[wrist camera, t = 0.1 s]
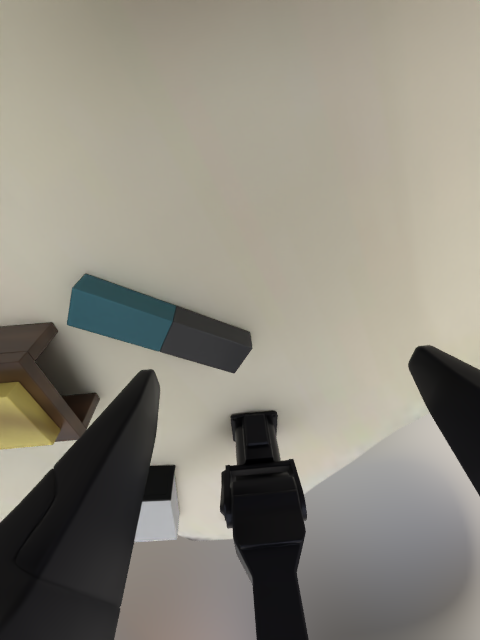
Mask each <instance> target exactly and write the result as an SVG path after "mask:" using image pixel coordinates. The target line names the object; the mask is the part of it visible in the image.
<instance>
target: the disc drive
mask: <svg viewBox="0 0 480 640" xmlns="http://www.w3.org/2000/svg"><path fill="white" fill-rule="evenodd" d="M174 472H175V465H173V466H150V467H149V472H148V477H147V482H146V487H145V491H144V496H143V501H142V506H141V511H140V516H139V520H138V525H137V530H136V535H135V540H134V542H145V541H159V540H176V539H177V535H178V525H179V514H180V513H179V506H178V498H177V490H176V483H175V475H174Z"/></svg>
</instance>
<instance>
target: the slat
mask: <svg viewBox="0 0 480 640" xmlns="http://www.w3.org/2000/svg"><path fill="white" fill-rule="evenodd" d="M67 325H69V326H73V327H76V328H80V329H83V330H86V331H90V332H93V333H97V334H100V335H104V336H107V337H111V338H114V339H117V340H121V341H124V342H128V343H131V344H135V345H138V346H142V347H145V348H148V349H152V350H155V351H160V352H162V353H166V354H169V355H173V356H176V357H179V358H183V359H186V360H190V361H193V362H197V363H200V364H204V365H207V366H210V367H214V368H217V369H221V370H224V371H228V372H231V373H235V372H236V371H237V369H238V368H239V366H240V365H241V364H242V362H243V361H244V359H245V358H246V357H247V355H248V354H249V352H250V351H251V350H252V342H251V335H250V332H248V331H245V330H243V329H240V328H237V327H234V326H231V325H229V324H226V323H223V322H220V321H217V320H215V319H212V318H209V317H206V316H203V315H200V314H198V313H195V312H192V311H189V310H186V309H184V308H181V307H178V306H175V305H172V304H170V303H167V302H164V301H161V300H158V299H156V298H153V297H150V296H147V295H144V294H141V293H139V292H136V291H133V290H130V289H127V288H125V287H122V286H119V285H116V284H113V283H111V282H108V281H105V280H102V279H99V278H97V277H94V276H91V275H88V274H85V275H84V276H83V277H82V278H81V279H80V280H79V281H78V282H77V283H76V285H75V286H74V287H73V288H72V293H71V300H70V307H69V313H68V320H67Z"/></svg>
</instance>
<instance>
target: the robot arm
mask: <svg viewBox="0 0 480 640" xmlns="http://www.w3.org/2000/svg"><path fill="white" fill-rule="evenodd" d="M408 367H409V370H410V372H411V375H412V377H413V379H414V381H415V383H416V385H417V387H418V389H419V392H420V394H421V396H422V398H423V400H424V402H425V404H426V406H427V408H428V410H429V412H430V414H431V415H432V417H433V419H434V421H435V422H436V424H437V426H438V427H439V429H440V430H441V432H442V434H443V436H444V437H445V439H446V440H447V442H448V444H449V446H450V447H451V449H452V451H453V452H454V454H455V455H456V457H457V459H458V461H459V462H460V464H461V466H462V467H463V469H464V471H465V472H466V474H467V476H468V477H469V479H470V481H471V482H472V484H473V486H474V487H475V489H476V491H477V492H478V494H479V496H480V370H479V369H477V368H475V367H473V366H471V365H469V364H467V363H465V362H463V361H461V360H459V359H457V358H455V357H453V356H451V355H449V354H447V353H445V352H443V351H441V350H439V349H437V348H435V347H433V346H430V345H427V346H418V347H417V348H416V349H415V351H414V353H413V355H412V357H411V359H410V361H409V364H408ZM159 398H160V385H159V382H158V379H157V377H156V374H155V372H154V370H152V369H149V370H141V371H140V372H139V373H138V374H137V375H136V376H135V377H134V378H133V379H132V380H131V381H130V383H129V384H128V385H127V386H126V387H125V388H124V389H123V390H122V391H121V392H120V394H119V395H118V396H117V397H116V398H115V399H114V400H113V401H112V402H111V404H110V405H109V406H108V407H107V408H106V409H105V410H104V411H103V412H102V414H101V415H100V416H99V417H98V418H97V419H96V420H95V421H94V422H93V423H92V425H91V426H90V427H89V428H88V429H87V430H86V431H85V432H84V433H83V435H82V436H81V437H80V438H79V439H78V440H77V441H76V442H75V443H74V445H73V446H72V447H71V448H70V449H69V450H68V451H67V452H66V453H65V454H64V456H63V457H62V458H61V459H60V460H59V461H58V462H57V463H56V464H55V466H54V469H51V470H50V471H49V472H48V473H47V474H46V475H45V476H44V478H43V479H42V480H41V481H40V482H39V483H38V484H37V485H36V486H35V487H34V488H33V490H32V491H31V492H30V493H29V494H28V495H27V496H26V497H25V498H24V499H23V500H22V501H21V502H20V503H19V504H18V505H17V506H16V507H15V508H14V509H13V510H12V511H11V512H10V513H9V514H8V515H7V516H6V517H5V518H4V519H3V521H2V522H1V523H0V640H114V637H115V632H116V627H117V622H118V618H119V613H120V608H119V607H120V606H121V602H122V598H123V593H124V588H125V583H126V578H127V573H128V569H129V564H130V559H131V554H132V549H133V545H134V540H135V535H136V530H137V525H138V520H139V516H140V511H141V506H142V501H143V496H144V491H145V487H146V482H147V477H148V472H149V467H150V462H151V458H152V453H153V448H154V443H155V438H156V431H157V420H158V409H159ZM277 417H278V415H277V412H275V411H272V412H261V413H250V414H239V415H232V416H231V425H232V433H233V440H234V441H235V442H236V458H237V465H233V466H230V465H226V470H225V471H223V472H222V488H221V501H220V512H221V513H222V514H223V515H224V516H225V521H226V522H227V528H233V539H234V544H235V549H236V553H237V556H238V558H239V560H240V562H241V564H242V565H243V567H244V569H245V571H246V573H247V575H248V577H249V579H250V581H251V583H252V585H253V594H254V608H255V621H256V635H257V640H308V634H307V629H306V623H305V618H304V612H303V606H302V601H301V596H300V590H299V585H298V578H297V568H298V564H299V559H300V555H301V551H302V546H303V542H304V537H305V532H306V531H305V525H304V521H306V519H307V511H306V504H305V498H304V494H303V490H302V486H301V483H300V480H299V476H298V473H297V470H296V467H295V463H294V460H293V459H289V460H286V461H281V460H280V455H279V449H278V444H277V439H276V433H277Z"/></svg>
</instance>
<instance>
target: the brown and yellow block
mask: <svg viewBox="0 0 480 640" xmlns="http://www.w3.org/2000/svg"><path fill="white" fill-rule="evenodd" d="M57 332H58V331H57V330H56V328H55V326H54V325H53V323H40V324H27V325H15V326H3V327H0V449H11V448H22V447H33V446H44V445H53V444H54V442H58V441H69V440H78V439H79V438H80V437H81V436H82V435H83V433H84V432H85V431H86V429H87V427H88V425H89V422H90V420H91V418H92V416H93V413H94V411H95V409H96V406H97V404H98V402H99V400H100V398H99V397H98V395H97V394H96V393H91V394H79V395H68V396H61V395H60V394H59V393H58V391H57V390H56V389H55V387H54V386H53V385H52V383H51V382H50V381H49V379H48V378H47V377H46V376H45V374H44V373H43V372H42V370H41V369H40V368H39V366H38V365H37V364H36V362H35V360H36V359H37V358H38V356H39V355H40V354H41V353H42V351H43V350H44V349H45V347H46V346H47V345H48V344H49V342H50V341H51V340H52V339H53V337H54V336H55V335H56V333H57Z"/></svg>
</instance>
